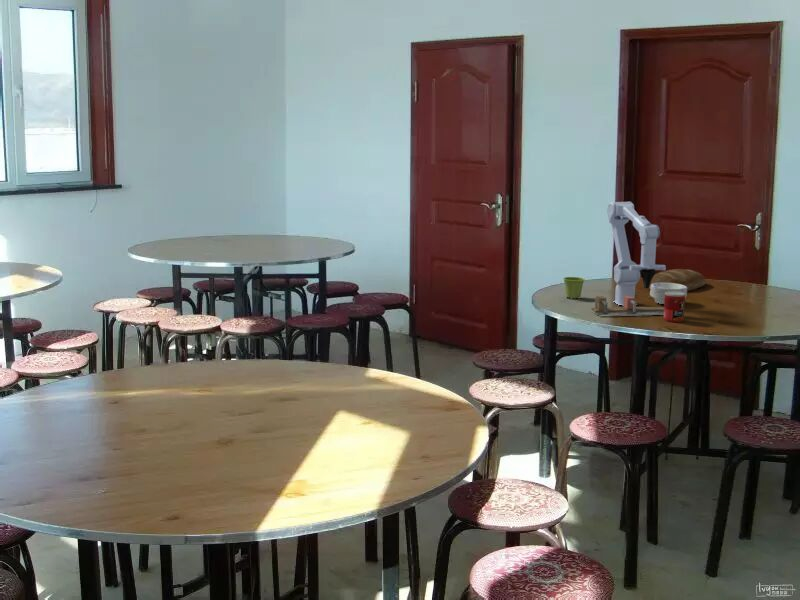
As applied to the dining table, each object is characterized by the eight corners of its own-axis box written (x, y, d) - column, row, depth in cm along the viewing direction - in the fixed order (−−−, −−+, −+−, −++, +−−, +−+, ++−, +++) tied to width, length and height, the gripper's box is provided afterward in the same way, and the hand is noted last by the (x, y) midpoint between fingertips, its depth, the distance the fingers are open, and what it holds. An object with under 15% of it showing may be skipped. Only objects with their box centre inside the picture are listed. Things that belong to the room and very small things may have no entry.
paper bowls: (690, 306, 419) (691, 288, 417) (654, 306, 418) (655, 288, 417) (680, 300, 434) (681, 282, 432) (645, 300, 433) (646, 282, 432)
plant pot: (582, 296, 442) (583, 276, 441) (585, 300, 433) (586, 280, 431) (561, 296, 443) (561, 276, 441) (564, 299, 433) (564, 280, 432)
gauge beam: (591, 311, 408) (592, 295, 407) (662, 310, 411) (662, 294, 410) (598, 316, 398) (599, 300, 397) (670, 315, 401) (671, 299, 400)
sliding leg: (623, 307, 409) (623, 296, 408) (630, 307, 409) (630, 296, 408) (631, 311, 399) (631, 300, 398) (638, 311, 400) (639, 300, 399)
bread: (715, 285, 472) (716, 268, 471) (678, 295, 445) (679, 277, 444) (673, 280, 487) (674, 263, 485) (634, 290, 460) (635, 272, 459)
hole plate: (595, 314, 403) (595, 312, 402) (666, 312, 406) (667, 310, 405) (599, 317, 397) (599, 315, 396) (672, 315, 400) (672, 313, 400)
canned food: (674, 323, 385) (676, 295, 383) (659, 319, 392) (660, 292, 390) (688, 321, 389) (689, 293, 387) (672, 317, 396) (673, 290, 394)
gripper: (634, 256, 399) (632, 289, 401) (669, 256, 400) (667, 289, 403) (628, 253, 406) (626, 286, 408) (662, 253, 407) (661, 286, 410)
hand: (646, 287), depth 406 cm, fingers closed
